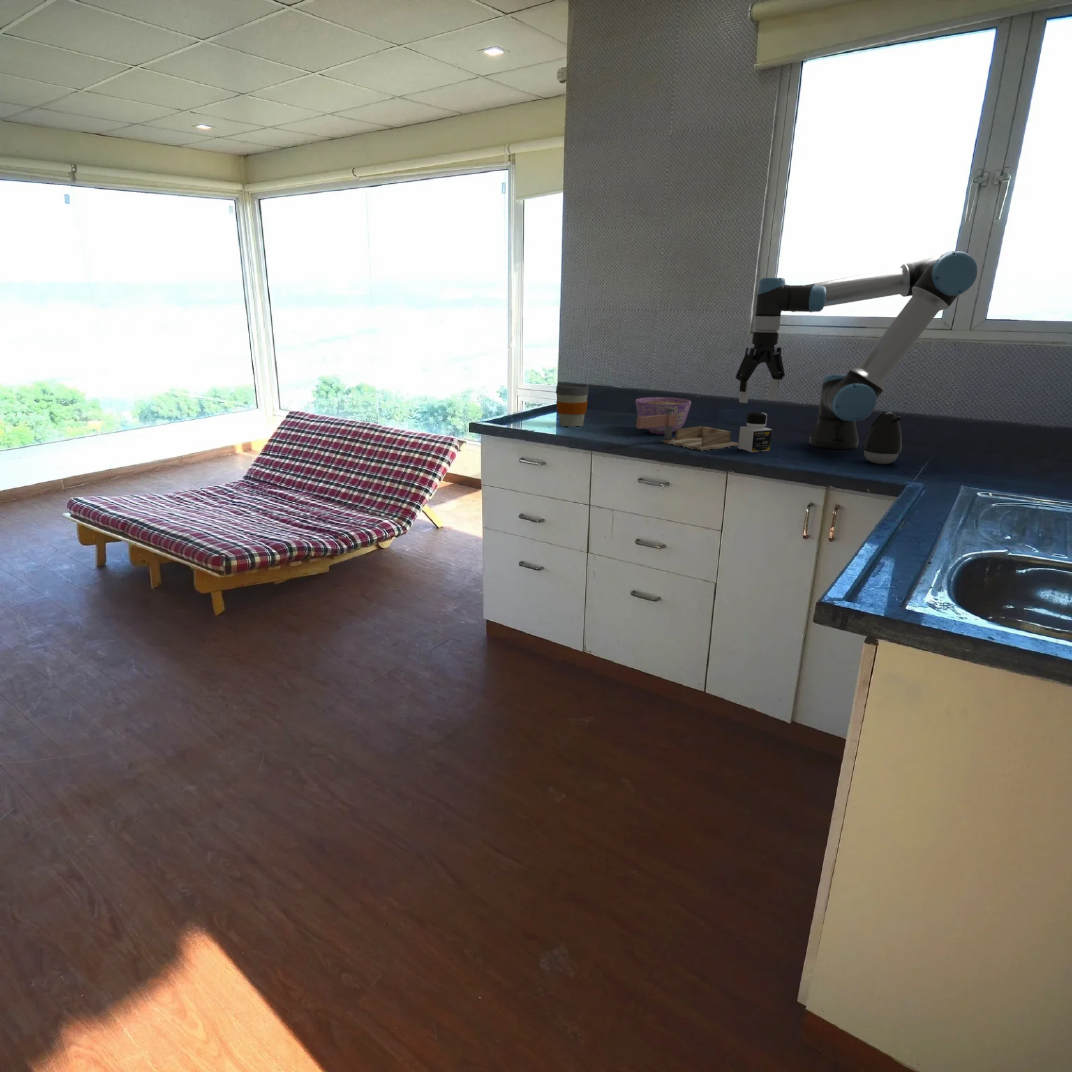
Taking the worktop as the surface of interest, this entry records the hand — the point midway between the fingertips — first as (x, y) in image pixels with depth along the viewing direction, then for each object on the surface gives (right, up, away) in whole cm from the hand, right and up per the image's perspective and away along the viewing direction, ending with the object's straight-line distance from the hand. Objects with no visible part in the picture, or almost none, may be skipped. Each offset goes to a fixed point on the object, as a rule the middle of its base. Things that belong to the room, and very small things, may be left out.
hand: (757, 401), depth 218 cm
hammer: (-30, -11, +13) cm, 35 cm away
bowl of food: (-24, -5, +35) cm, 43 cm away
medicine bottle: (0, -15, +5) cm, 16 cm away
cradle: (-14, -12, +14) cm, 23 cm away
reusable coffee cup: (-57, 0, +49) cm, 75 cm away
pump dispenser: (+33, -21, -12) cm, 41 cm away
